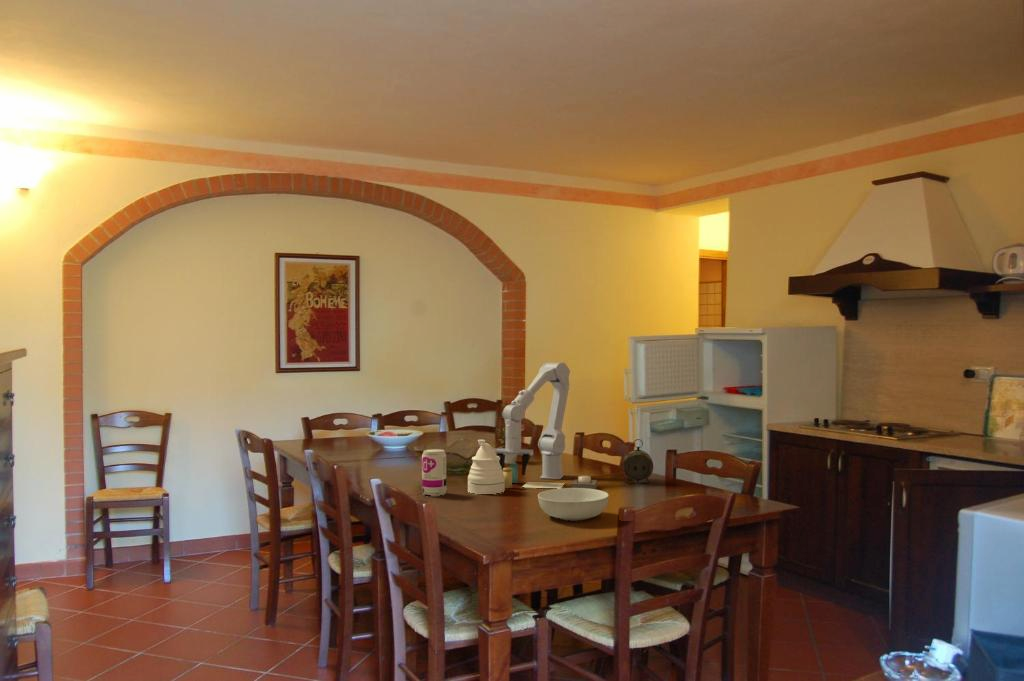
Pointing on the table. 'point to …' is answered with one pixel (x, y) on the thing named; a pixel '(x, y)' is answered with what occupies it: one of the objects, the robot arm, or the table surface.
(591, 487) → the button box
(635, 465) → the alarm clock
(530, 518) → the table surface
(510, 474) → the ball
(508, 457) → the house plant
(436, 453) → the supplement can
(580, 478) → the button
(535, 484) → the paper sheet
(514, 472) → the teal marker
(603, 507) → the serving bowl
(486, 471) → the honey pot
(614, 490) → the table surface
